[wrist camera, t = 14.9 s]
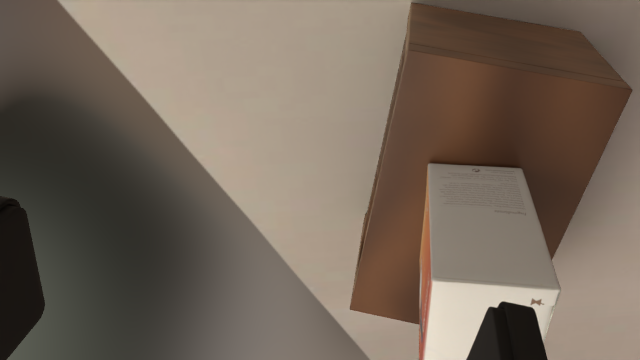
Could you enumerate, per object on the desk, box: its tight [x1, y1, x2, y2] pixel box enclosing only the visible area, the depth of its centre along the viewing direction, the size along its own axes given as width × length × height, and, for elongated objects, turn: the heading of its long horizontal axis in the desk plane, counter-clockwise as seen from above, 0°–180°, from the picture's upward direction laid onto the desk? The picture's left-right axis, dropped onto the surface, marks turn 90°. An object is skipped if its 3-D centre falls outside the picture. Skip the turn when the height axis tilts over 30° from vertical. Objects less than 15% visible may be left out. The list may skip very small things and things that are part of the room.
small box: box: [419, 163, 561, 360], centre depth 29 cm, size 8×6×10 cm
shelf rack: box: [350, 3, 632, 324], centre depth 39 cm, size 12×20×11 cm, turn 172°
